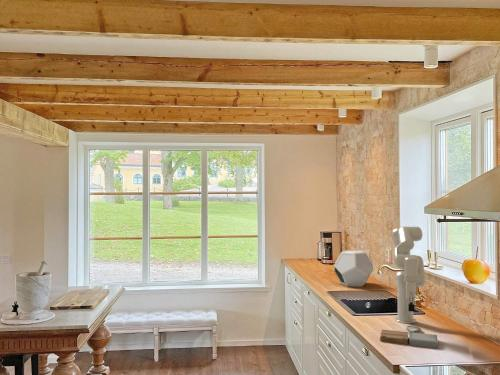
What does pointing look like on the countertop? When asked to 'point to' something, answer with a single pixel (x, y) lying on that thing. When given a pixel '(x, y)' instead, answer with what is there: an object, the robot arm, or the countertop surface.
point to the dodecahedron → (353, 268)
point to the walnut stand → (394, 337)
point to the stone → (414, 329)
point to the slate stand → (423, 340)
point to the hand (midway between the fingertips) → (411, 310)
